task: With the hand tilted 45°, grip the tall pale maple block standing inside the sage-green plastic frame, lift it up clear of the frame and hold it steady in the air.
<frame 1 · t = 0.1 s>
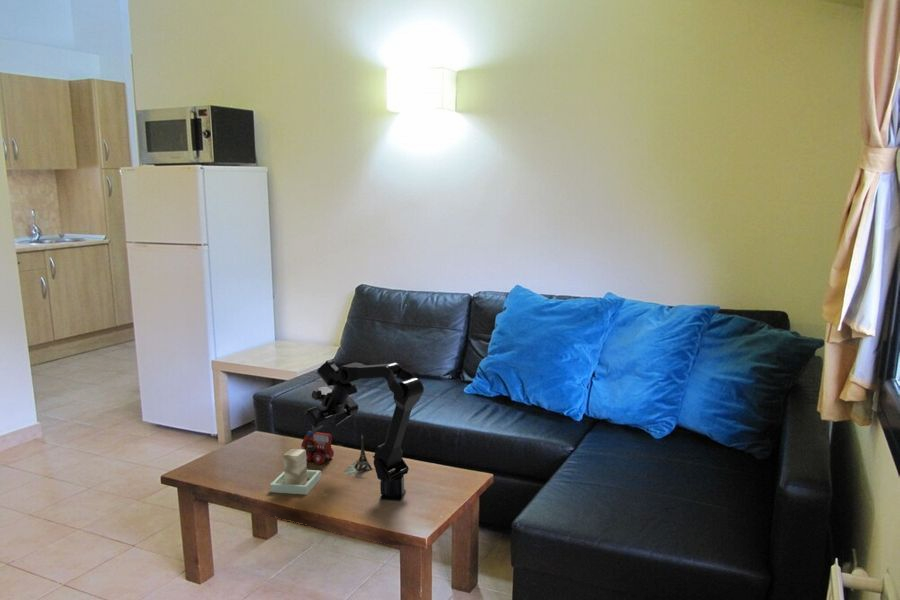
hand: (324, 428, 223), 15 cm above the table, tool tilted 35°, fingers open, 9 cm apart
eiffel tower figurine: (362, 470, 227), on the table
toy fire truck: (317, 460, 235), on the table
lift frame: (296, 484, 214), on the table
maple block: (295, 468, 214), in the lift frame
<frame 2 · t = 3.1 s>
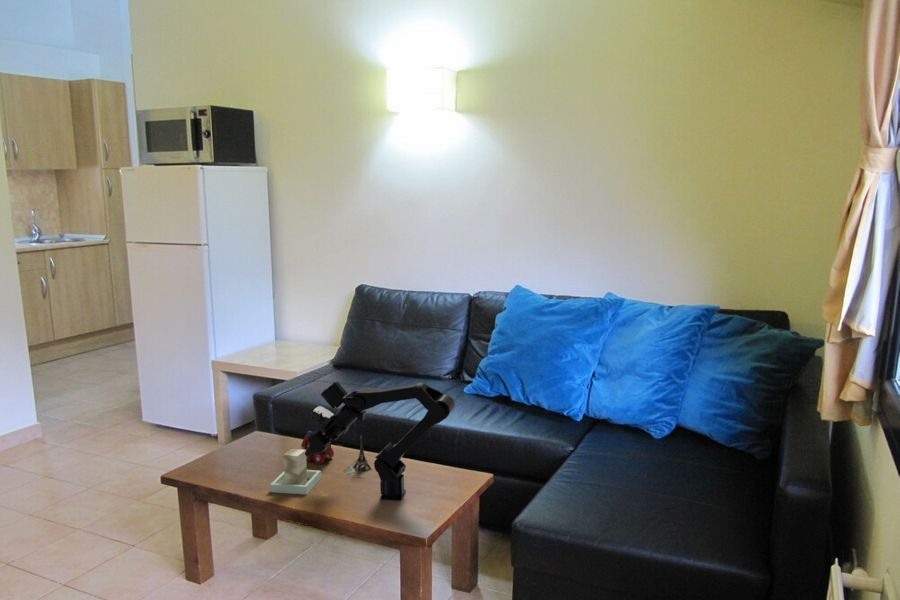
hand: (312, 449, 211), 12 cm above the table, tool tilted 45°, fingers open, 9 cm apart
nothing on the table moved.
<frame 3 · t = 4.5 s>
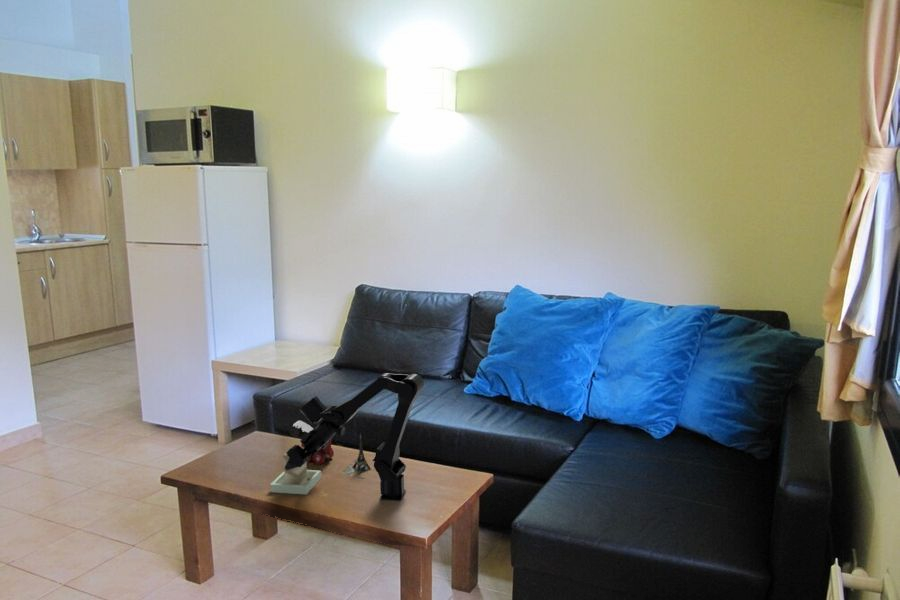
hand: (292, 463, 214), 7 cm above the table, tool tilted 45°, fingers open, 9 cm apart
nothing on the table moved.
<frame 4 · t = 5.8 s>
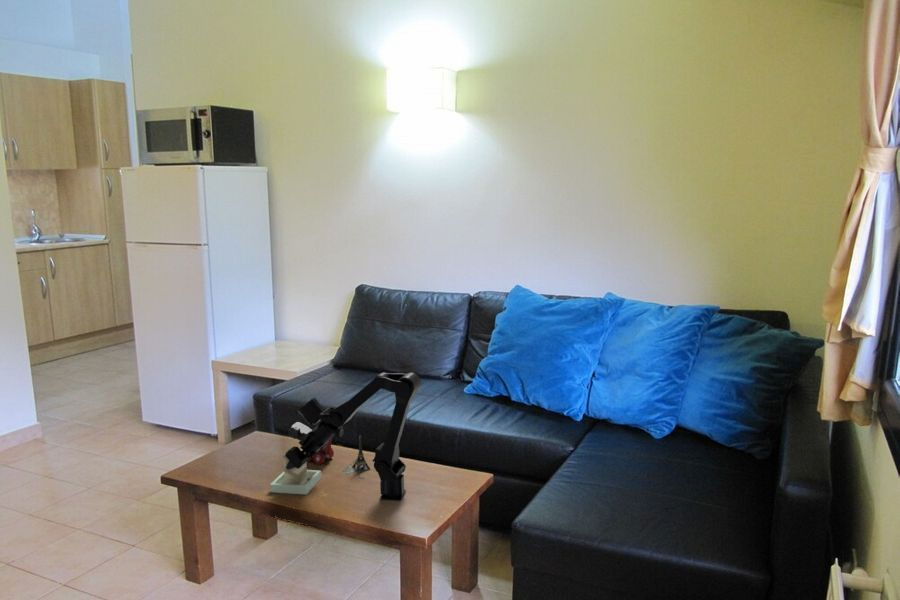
hand: (291, 464, 214), 7 cm above the table, tool tilted 45°, fingers closed on maple block, 5 cm apart
maple block: (295, 468, 214), in the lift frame, touching gripper
everything else where it was.
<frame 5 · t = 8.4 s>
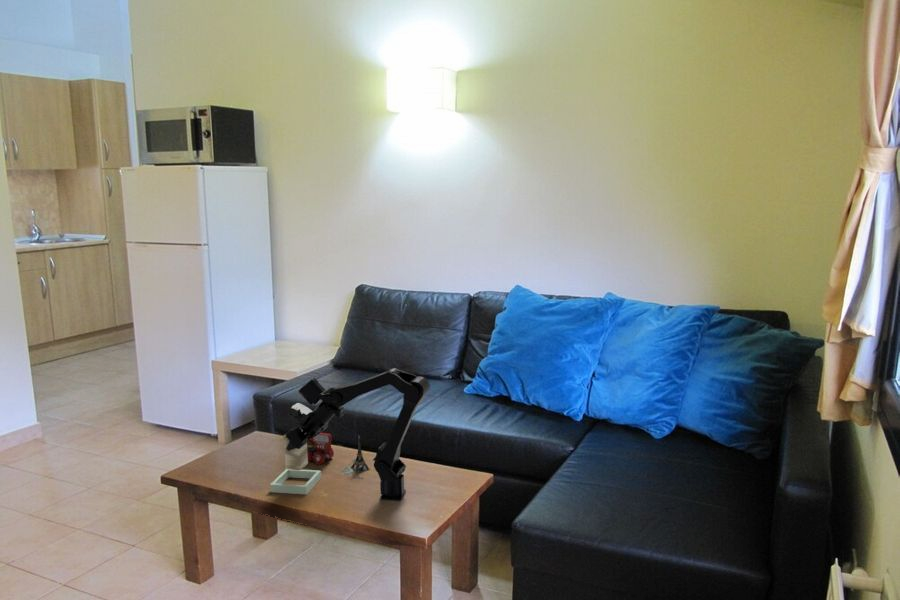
hand: (291, 446, 213), 13 cm above the table, tool tilted 45°, fingers closed on maple block, 5 cm apart
maple block: (295, 449, 212), point 12 cm above the table, touching gripper
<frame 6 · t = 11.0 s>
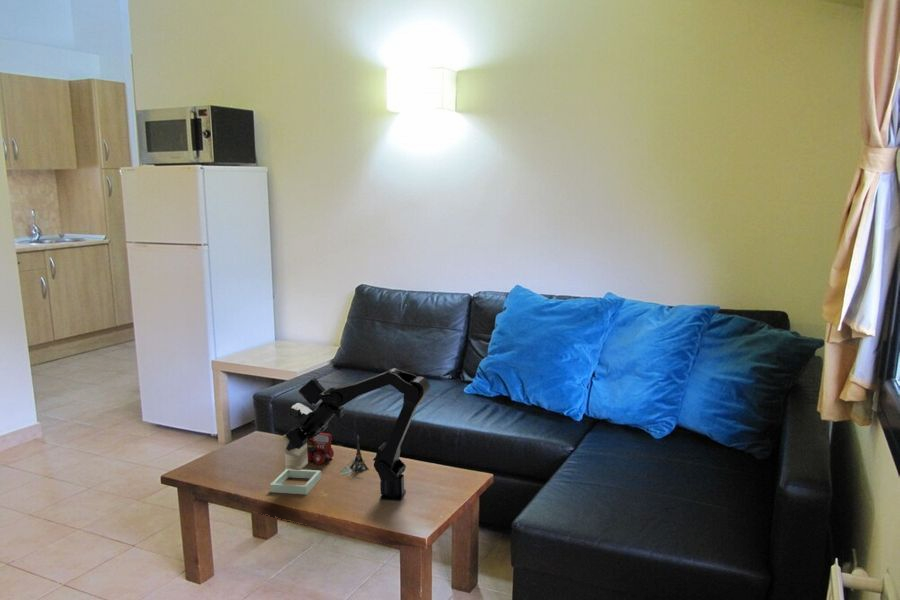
hand: (291, 446, 213), 13 cm above the table, tool tilted 45°, fingers closed on maple block, 5 cm apart
maple block: (295, 449, 212), point 12 cm above the table, touching gripper
at the end: maple block inside the target area on the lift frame (0.5 cm from its centre), point 11.9 cm above the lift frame's base; the gripper is holding maple block; maple block tilted 0° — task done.
